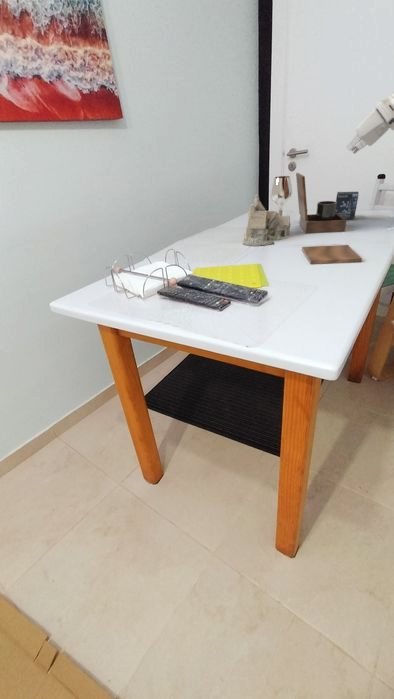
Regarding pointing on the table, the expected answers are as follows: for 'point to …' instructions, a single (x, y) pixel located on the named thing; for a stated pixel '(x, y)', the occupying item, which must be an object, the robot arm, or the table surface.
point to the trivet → (330, 254)
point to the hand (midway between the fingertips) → (350, 150)
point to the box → (347, 204)
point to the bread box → (322, 225)
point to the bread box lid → (302, 196)
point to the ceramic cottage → (265, 225)
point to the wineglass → (281, 190)
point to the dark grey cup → (326, 211)
